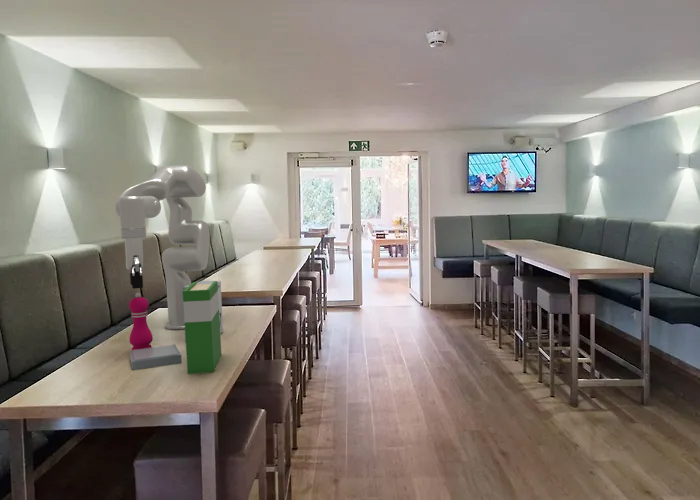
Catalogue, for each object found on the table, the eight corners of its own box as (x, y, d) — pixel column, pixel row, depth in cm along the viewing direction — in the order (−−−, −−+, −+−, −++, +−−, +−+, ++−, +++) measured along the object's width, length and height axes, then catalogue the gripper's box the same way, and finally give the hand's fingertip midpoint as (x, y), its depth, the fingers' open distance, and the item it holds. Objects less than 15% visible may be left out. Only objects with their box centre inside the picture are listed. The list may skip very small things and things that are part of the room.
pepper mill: (134, 349, 185) (130, 291, 183) (156, 348, 185) (152, 290, 183) (127, 355, 178) (123, 294, 176) (150, 354, 178) (146, 293, 176)
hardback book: (197, 356, 174) (193, 282, 172) (221, 354, 175) (217, 280, 173) (187, 373, 157) (182, 291, 154) (214, 372, 157) (209, 289, 155)
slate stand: (130, 358, 174) (129, 349, 174) (175, 351, 180) (175, 343, 180) (132, 370, 162) (132, 361, 161) (181, 362, 167) (181, 354, 167)
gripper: (120, 234, 184) (123, 284, 185) (122, 235, 168) (125, 290, 169) (143, 233, 187) (146, 282, 188) (148, 234, 171) (151, 288, 173)
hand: (136, 286), depth 179 cm, fingers open, 9 cm apart
